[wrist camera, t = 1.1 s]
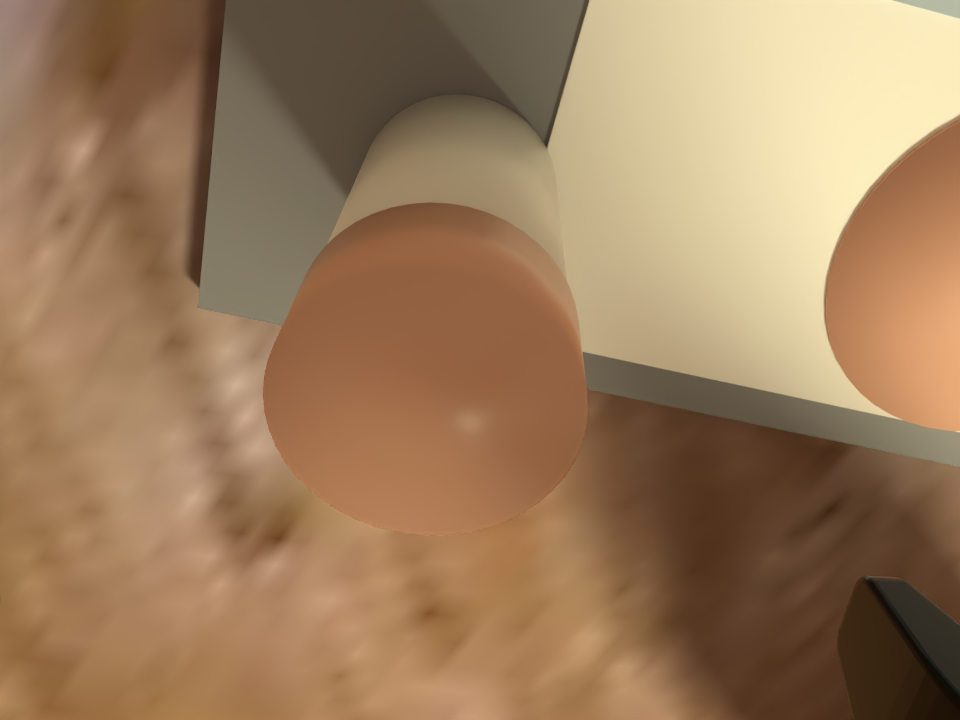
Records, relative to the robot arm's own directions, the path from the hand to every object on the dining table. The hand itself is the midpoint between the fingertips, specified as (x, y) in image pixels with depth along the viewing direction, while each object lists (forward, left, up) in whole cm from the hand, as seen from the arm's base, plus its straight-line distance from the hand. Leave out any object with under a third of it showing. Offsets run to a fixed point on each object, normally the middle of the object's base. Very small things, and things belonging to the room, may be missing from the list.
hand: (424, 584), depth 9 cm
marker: (0, 0, -11) cm, 11 cm away
